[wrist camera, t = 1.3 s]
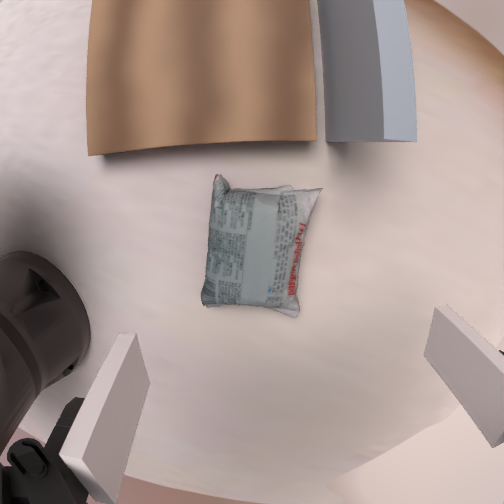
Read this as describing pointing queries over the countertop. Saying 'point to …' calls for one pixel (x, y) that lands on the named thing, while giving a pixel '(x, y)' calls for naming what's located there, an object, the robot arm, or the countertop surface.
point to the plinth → (198, 73)
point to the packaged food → (256, 246)
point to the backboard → (367, 71)
